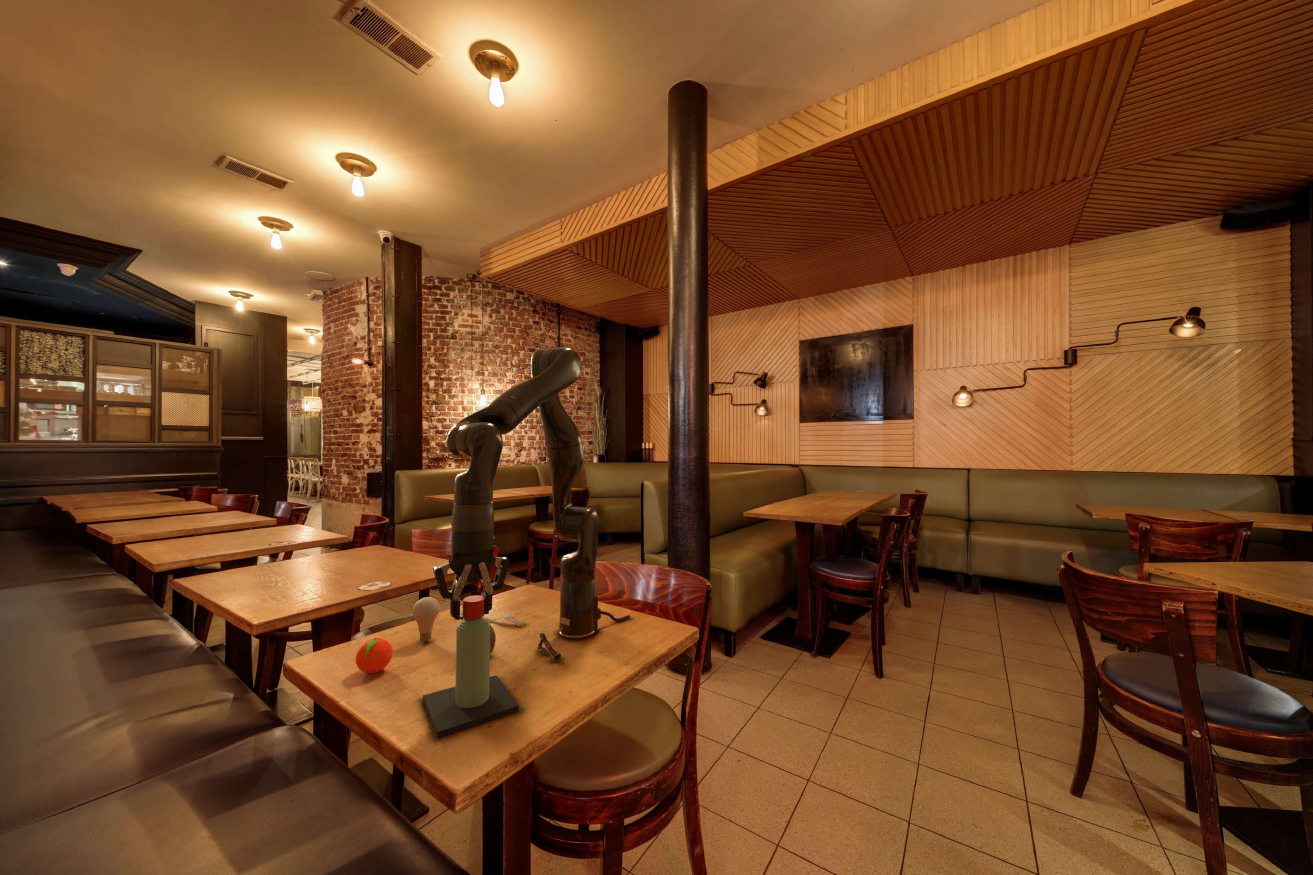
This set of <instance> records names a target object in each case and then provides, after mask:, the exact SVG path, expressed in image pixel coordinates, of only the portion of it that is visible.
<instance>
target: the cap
mask: <svg viewBox="0 0 1313 875" xmlns="http://www.w3.org/2000/svg"><path fill="white" fill-rule="evenodd" d="M484 613H485V597H484V596H483V595H479V594H478V595H470V596H466V597H464V598H463V599H462V613H461V615H462V616H463V617H462V618H463V619H468V620H473V619H478V618H481V617H483V616H484V617H485V614H484Z"/></svg>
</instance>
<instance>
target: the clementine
mask: <svg viewBox="0 0 1313 875" xmlns="http://www.w3.org/2000/svg"><path fill="white" fill-rule="evenodd" d="M393 653H394V651H393V646H392V644H391V643H390V641H388V640H387V639H385V638H383V637H375V638H370V639H368V640H367V641H365V642H364V643H363V644H361V645H360V647H359V648H358V650H357V652H356V655H355V665H356V667H357V669H359V670H360V671H361V672H362V673H365V674H375V673H379V672H381V671H383V669H384V668H387V666H388V665H389V664H390V662H391V660H392V657H393Z"/></svg>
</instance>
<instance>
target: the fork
mask: <svg viewBox="0 0 1313 875" xmlns="http://www.w3.org/2000/svg"><path fill="white" fill-rule="evenodd" d="M483 617H485V618H486V619H488V620H489V621H490V620H491V621H492V620H493V621H494V620H498V619H505V620H508V621H509V622H511V623H513V624H514V625H516V626H518V627H519V628H521V627H523V626H525V623H523V622H522V621H521V620H520V619H518V618H517V617H515V616H514V615H512V614H509V613H506V614H502V615H501V616H499V617H488V616H485V615H484V616H483ZM460 618H463V616H462V614H460Z"/></svg>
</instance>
